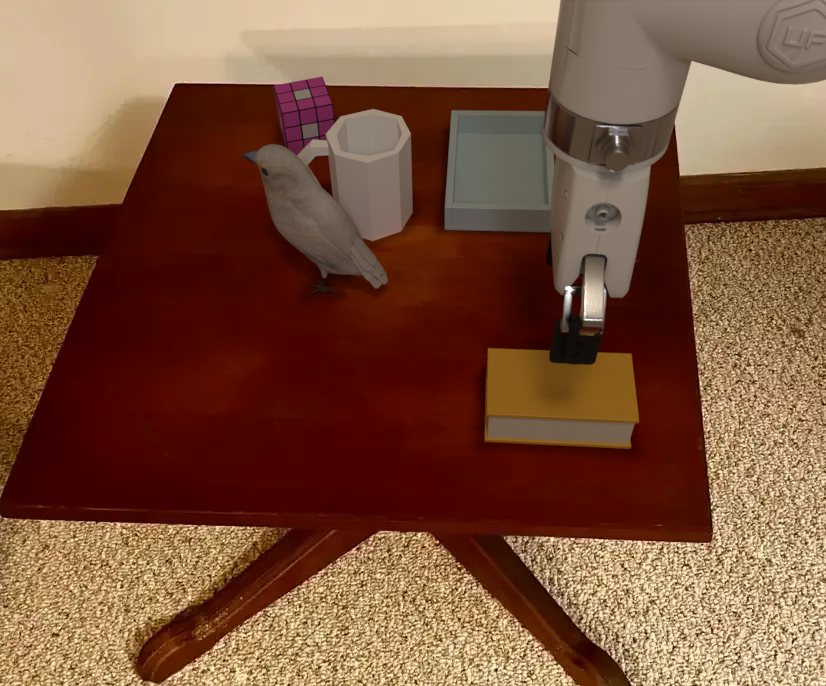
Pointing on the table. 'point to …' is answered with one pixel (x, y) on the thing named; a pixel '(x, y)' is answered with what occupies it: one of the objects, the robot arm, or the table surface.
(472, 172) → the tray
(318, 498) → the table surface
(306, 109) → the puzzle toy
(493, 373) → the book
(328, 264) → the bird
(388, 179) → the mug
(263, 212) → the table surface
